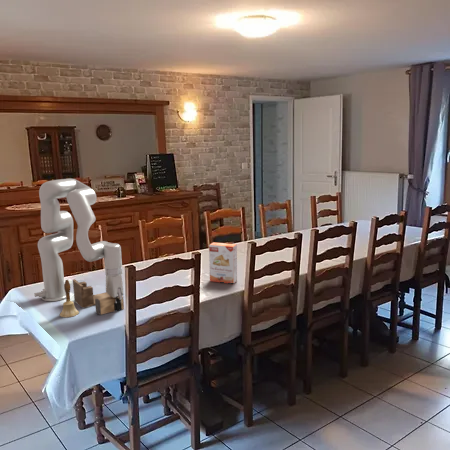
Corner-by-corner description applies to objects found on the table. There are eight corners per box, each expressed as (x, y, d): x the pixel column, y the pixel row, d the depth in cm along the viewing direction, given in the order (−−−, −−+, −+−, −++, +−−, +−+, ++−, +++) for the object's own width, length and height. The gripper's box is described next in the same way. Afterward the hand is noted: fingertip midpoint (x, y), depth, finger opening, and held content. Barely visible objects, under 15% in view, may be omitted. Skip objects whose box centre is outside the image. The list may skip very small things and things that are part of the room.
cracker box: (209, 281, 246) (208, 244, 241) (213, 278, 251) (213, 241, 247) (233, 284, 240) (233, 246, 236) (237, 281, 246) (237, 243, 242)
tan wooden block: (98, 315, 202) (97, 301, 201) (95, 312, 205) (94, 299, 204) (124, 308, 209) (123, 295, 208) (121, 306, 212) (120, 293, 211)
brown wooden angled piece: (82, 308, 211) (80, 286, 209) (74, 300, 220) (72, 279, 218) (115, 300, 220) (113, 279, 218) (106, 293, 230) (104, 273, 227)
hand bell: (62, 311, 208) (59, 277, 205) (80, 310, 209) (78, 277, 205) (57, 318, 200) (54, 283, 197) (76, 317, 201) (73, 282, 197)
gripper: (99, 268, 210) (101, 305, 213) (112, 276, 196) (115, 316, 200) (114, 265, 214) (117, 302, 218) (129, 273, 201) (131, 312, 204)
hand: (116, 308), depth 209 cm, fingers closed on tan wooden block, 3 cm apart
